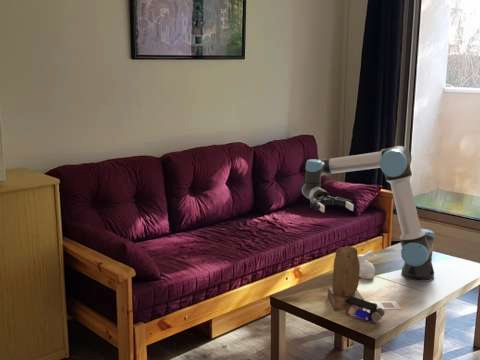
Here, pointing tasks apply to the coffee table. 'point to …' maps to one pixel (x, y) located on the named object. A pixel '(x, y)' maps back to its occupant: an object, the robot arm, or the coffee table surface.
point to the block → (346, 271)
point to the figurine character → (354, 311)
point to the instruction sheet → (386, 305)
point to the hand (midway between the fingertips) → (338, 208)
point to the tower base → (341, 300)
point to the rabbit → (366, 266)
